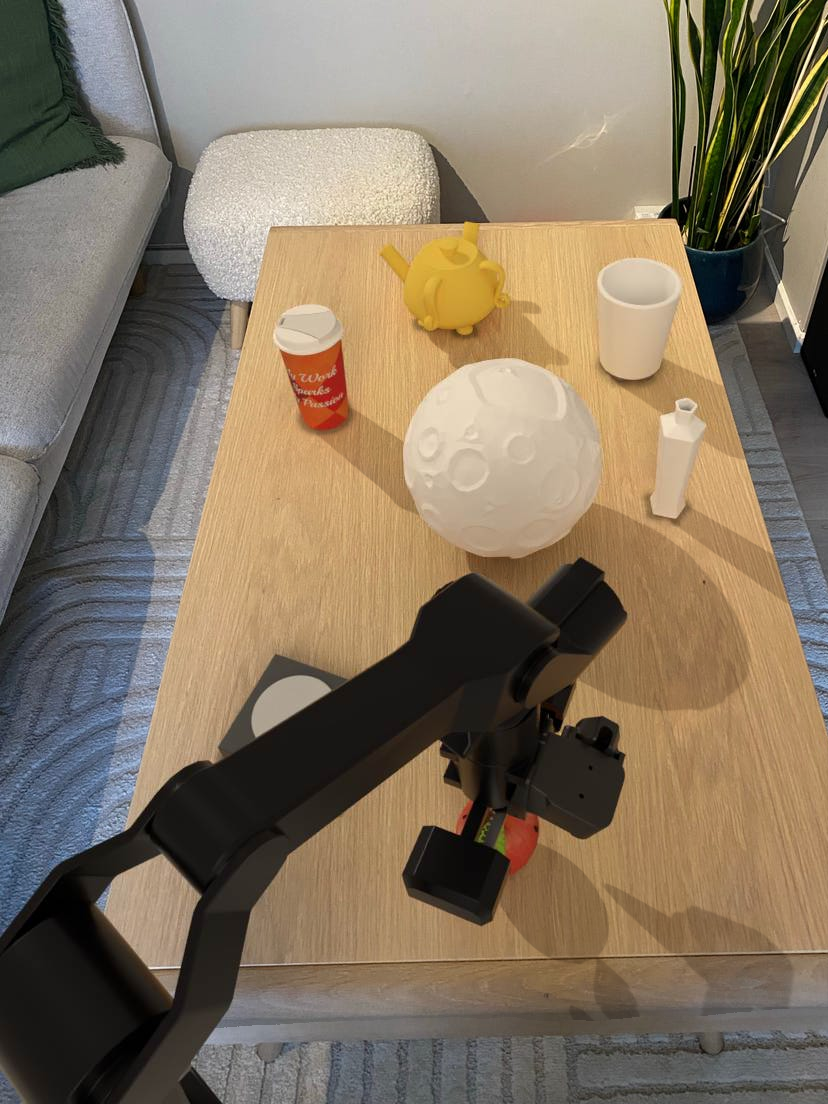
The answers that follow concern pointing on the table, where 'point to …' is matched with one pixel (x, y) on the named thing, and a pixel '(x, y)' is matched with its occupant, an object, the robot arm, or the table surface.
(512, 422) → the decorative sphere
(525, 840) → the spotted red fruit
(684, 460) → the white faceted vase
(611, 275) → the cup
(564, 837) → the table surface
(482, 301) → the teapot
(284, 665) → the scale
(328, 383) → the paper cup
